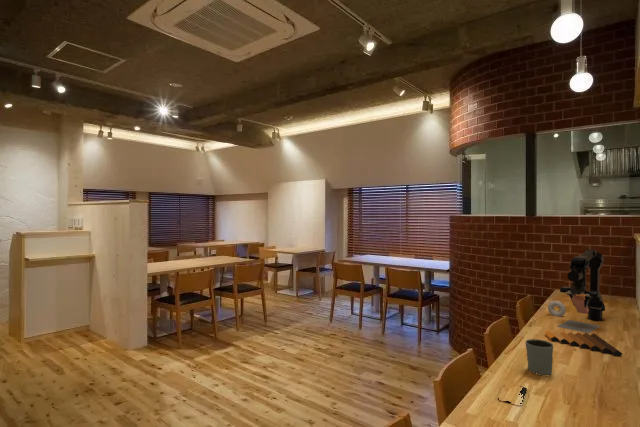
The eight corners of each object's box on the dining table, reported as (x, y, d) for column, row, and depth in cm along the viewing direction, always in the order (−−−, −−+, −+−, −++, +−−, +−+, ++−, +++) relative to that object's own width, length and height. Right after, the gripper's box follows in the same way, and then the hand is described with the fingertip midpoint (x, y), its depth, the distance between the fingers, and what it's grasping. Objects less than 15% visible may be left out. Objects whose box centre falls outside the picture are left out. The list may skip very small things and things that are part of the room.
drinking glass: (553, 378, 155) (553, 348, 155) (524, 373, 161) (524, 344, 160) (553, 369, 164) (553, 341, 164) (526, 364, 169) (526, 337, 169)
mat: (569, 320, 234) (569, 319, 234) (601, 327, 221) (601, 326, 221) (556, 327, 221) (556, 326, 221) (588, 334, 209) (588, 333, 209)
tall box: (579, 308, 226) (573, 295, 220) (589, 309, 222) (583, 296, 216) (577, 312, 225) (571, 299, 219) (587, 314, 221) (581, 301, 215)
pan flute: (622, 357, 177) (597, 339, 202) (622, 350, 177) (597, 333, 202) (561, 353, 184) (544, 336, 208) (561, 346, 184) (544, 330, 208)
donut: (566, 317, 241) (566, 301, 241) (565, 318, 238) (565, 302, 238) (548, 314, 248) (548, 299, 248) (547, 315, 246) (546, 299, 245)
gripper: (556, 278, 222) (556, 305, 222) (594, 283, 208) (594, 312, 208) (563, 276, 229) (563, 302, 229) (601, 281, 214) (601, 309, 215)
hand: (579, 306), depth 220 cm, fingers closed on tall box, 5 cm apart
